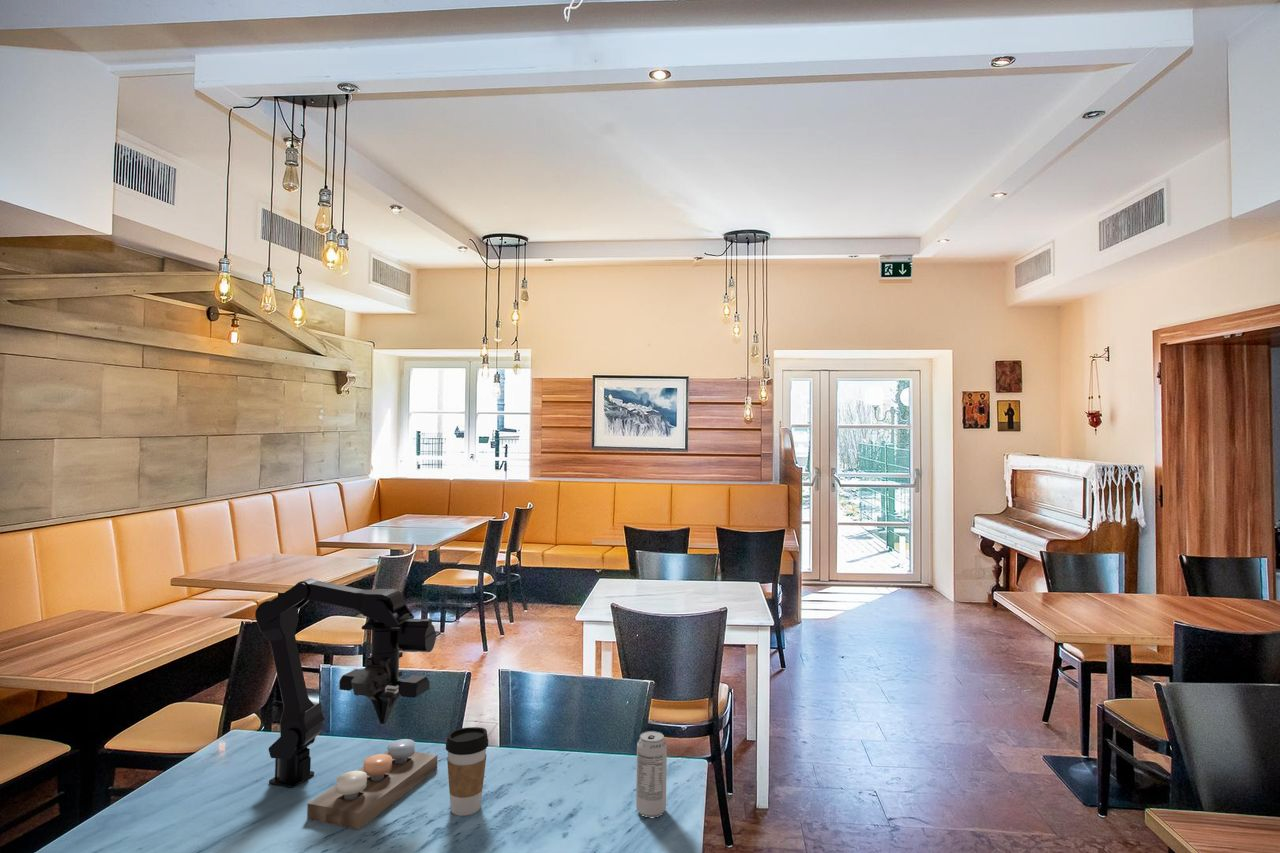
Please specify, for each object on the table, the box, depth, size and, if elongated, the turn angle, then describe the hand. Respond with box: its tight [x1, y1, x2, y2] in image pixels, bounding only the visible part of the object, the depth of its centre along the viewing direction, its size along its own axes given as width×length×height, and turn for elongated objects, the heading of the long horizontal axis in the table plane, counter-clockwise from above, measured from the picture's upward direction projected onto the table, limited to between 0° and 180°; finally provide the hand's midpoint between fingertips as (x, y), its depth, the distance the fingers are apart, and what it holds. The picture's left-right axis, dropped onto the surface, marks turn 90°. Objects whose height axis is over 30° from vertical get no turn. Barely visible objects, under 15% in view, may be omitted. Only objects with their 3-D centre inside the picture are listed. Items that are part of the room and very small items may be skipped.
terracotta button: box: [362, 753, 392, 782], centre depth 142 cm, size 6×6×5 cm
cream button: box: [335, 770, 367, 801], centre depth 135 cm, size 6×6×5 cm
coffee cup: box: [445, 726, 489, 817], centre depth 137 cm, size 8×8×15 cm
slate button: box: [387, 738, 416, 765], centre depth 150 cm, size 6×6×5 cm
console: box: [306, 750, 438, 830], centre depth 142 cm, size 12×26×3 cm, turn 164°
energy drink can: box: [635, 730, 668, 817], centre depth 136 cm, size 6×6×15 cm
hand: (383, 723), depth 146 cm, fingers closed
